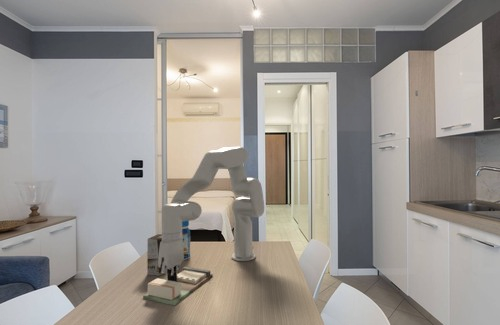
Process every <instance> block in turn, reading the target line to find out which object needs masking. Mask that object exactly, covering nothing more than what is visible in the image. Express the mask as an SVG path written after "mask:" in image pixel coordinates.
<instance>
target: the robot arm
mask: <svg viewBox="0 0 500 325" xmlns="http://www.w3.org/2000/svg"><path fill="white" fill-rule="evenodd" d="M248 152H249V151H248V150H247V149H246V148H245V147H243V146H231V147H228V146H227V147H221V148H219V149H216V150H210V151H207V152H206V153H204V155H203V157H202V159H201V161H200V163H199V165H198V167H197V169H196V170H195V172H194V174H193V176H192V177H191V178H189V180H187V181H186V182H184V184H182V186H180V187H179V188H178V189H177V191H176V192H175V194H174V195H173V197H172V199H171V201H170V203H165V204H163V205H162V207H161V234H162V241H161V243H160V247H159V257H158V267H159V268H162V271H161V273H162V274H166V275H167V279H166V280H169V281H175V282H177V274H179V273H178V272H179V268H180V266H181V265H183V262H184V261H185V260H184V247H183V239H182V221H189V222H190V221H191V222H192V221H195V220H197V219H199V218H200V216H201V214H202V211H203V210H202V206H201V205H200V203H198V202H196V201H190V199H191V197H192V196H194V195H195V194H196V193H199V192H202V191H204V190H206V189H208V188H210V186H212V184H213V181H214V179H215V177H216V175H217V173H218V171H219V170H228V171H227V172H228V174H229V178H230V179H229V180H230V185H231V190H232V193H233V195H236V196H237V197H236V198H235V199H234V200H233V201H232V206H231V208H232V210H231V211H232V214H233V226H234V227H233V228H234V229H233V230H234V231H233V234H234V235H233V236H234V237H233V238H234V241H233V243H234V244H233V247H234V251H233V253H232V254H231V259H232V260H233V261H237V262H248V261H249V262H250V261H253V260H254V259H256V253H254V252H253V249H254V248H255V247H254V245H253V222H252V220H251V218H259V217H262V216H263V214H264V213H265V200H264V194H263V187H262V183H261V182H260V180H259V179H257V178H256V177H248V176H247V171H246V167H245V164H246V163H247V162H248V159H249V153H248ZM238 196H239V197H238Z"/></svg>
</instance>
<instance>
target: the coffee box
mask: <svg viewBox="0 0 500 325" xmlns="http://www.w3.org/2000/svg"><path fill="white" fill-rule="evenodd" d="M161 241H162V233H160V234H159V233H157V234H156V235H152V236H151V237H149V238H147V253H146V254H147V256H146V257H147V260H146V261H147V262H146V263H147V264H146V265H147V266H146V268H147V269H146V270H147V275H148V276H149V275H150V276H158V277H160V276H162V274H163V273H161V271H162V268H159V267H158V257H159V247H160V243H161Z"/></svg>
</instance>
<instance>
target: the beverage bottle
mask: <svg viewBox="0 0 500 325" xmlns="http://www.w3.org/2000/svg"><path fill="white" fill-rule="evenodd" d="M189 223H190V221H182V239H183V247H184V260H183V261H185V260H189V259H190V258H191V229H190V228H189V225H190V224H189Z"/></svg>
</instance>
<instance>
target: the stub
mask: <svg viewBox="0 0 500 325" xmlns="http://www.w3.org/2000/svg"><path fill="white" fill-rule="evenodd" d="M147 293H148V295H152V296H156V297H161V298H165V299H170V300H173V299H174V298H176V297H177V296H178V295H180V294H181V283H180V282H175V281H169V280H167V279H163V278H159V277H157V278H155V279H153V280H152V281H150V282H148V283H147Z"/></svg>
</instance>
